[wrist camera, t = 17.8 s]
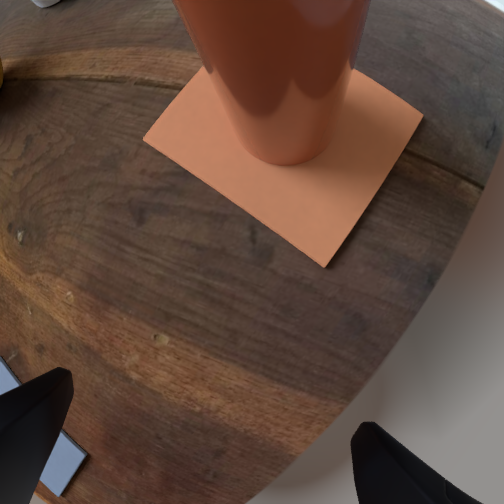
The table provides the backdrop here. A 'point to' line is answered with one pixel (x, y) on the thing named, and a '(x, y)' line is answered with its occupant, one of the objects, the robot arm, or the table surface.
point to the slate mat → (64, 452)
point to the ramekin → (45, 2)
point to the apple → (1, 73)
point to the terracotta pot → (278, 68)
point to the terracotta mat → (293, 176)
